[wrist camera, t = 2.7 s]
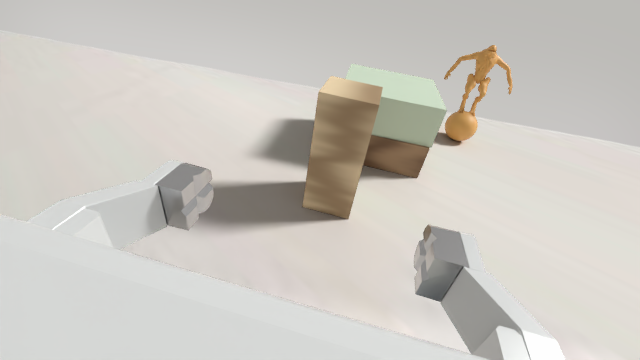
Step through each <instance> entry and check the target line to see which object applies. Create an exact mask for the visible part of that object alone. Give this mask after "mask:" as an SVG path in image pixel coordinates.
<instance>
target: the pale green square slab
mask: <svg viewBox="0 0 640 360" xmlns="http://www.w3.org/2000/svg"><path fill="white" fill-rule="evenodd" d="M345 79H348V80H352V81H357V82H361V83H366V84H371V85H375V86H380V87H383V89H382V94H381V99H380V105H379V108H378V112H377V116H376V119H375V123H374V127H373V130H372V134H371V135H375V136H380V137H384V138H389V139H394V140H398V141H403V142H408V143H412V144H417V145H422V146H426V147H432V145H433V142H434V140H435V138H436V135H437V133H438V131H439V128H440V126H441V123H442V121H443V119H444V116H445V114H446V111H447V109H446V107H445V105H444V103H443V100H442V98H441V96H440V94H439V91H438V89H437V87H436V85H435V83H434V81H433V80H431V79H426V78H421V77H416V76H411V75H406V74H401V73H396V72H391V71H385V70H380V69H376V68H370V67H365V66H360V65H355V64H351V66H350V68H349V71H348V73H347V76H346V78H345Z"/></svg>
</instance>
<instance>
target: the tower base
mask: <svg viewBox="0 0 640 360" xmlns="http://www.w3.org/2000/svg"><path fill="white" fill-rule="evenodd" d="M428 151H429V147H426V146H422V145H417V144H412V143H408V142H403V141H398V140H394V139H389V138H384V137H380V136H375V135H371V138H370V141H369V145H368V149H367V152H366V156H365V160H364V163H363V165H364V166H368V167H373V168H377V169H381V170H385V171H389V172H393V173H398V174H402V175H406V176H410V177H414V178H417V177H418V175H419V172H420V170H421V168H422V165H423V163H424V160H425V158H426V156H427V153H428Z"/></svg>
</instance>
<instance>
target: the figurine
mask: <svg viewBox="0 0 640 360" xmlns="http://www.w3.org/2000/svg"><path fill="white" fill-rule="evenodd" d="M496 50H497V48H496V46H495V45H492V46H490V47H489V48H487V49H485V50H483V51H481V52H476V53H473V54H470V55H465V56H462V57H460V58H459V59H458V60H457V61H456V63H455V64H454V65H453V66H452V67H451V68H450V70H449V71H448V72H447V74H446V75H445V78H444V79H446V77H447V78H448V76H449V75H450V72H452V71H453V70H454V69H455V68H456V67H457V65H458V64H459V63H460V62H461V61H464V60H471V59H476V72H475V75H473V74H470V75H469V76H468V79H467V84H466V86H465V92H466V93H465V94H464V95H463V101H462V103H461V106H460V109H459V111H458V112H455V113H453V114H452V115H451V116H449V118H448V119H447V121H446V123H445V131H446V133H447V135H448V136H449V137H450V138H452V139H453V140H457V141H463V140H467V139H469V138H470V137H472V136H473V135H474V134H475V132H476V130H477V120H476V118H475V113H474V112H475V108H476V104H477V102H480V101H481V99H482V98H483V97H484V96H485V94H486V91H487V86H488V84H489V82H490V78H489V77H488V78H486V79H485V77H486V75H487V73H488V72H489V71H490V69H492V67H493V66H494V64H498V65H499V66H501V67H502V68H503V69H505V70H507V80H508V83H509V86H510V87H509V88H508V89H509V94H510V93H511V90H512V78H511V69H510V67H509V66H508V65H507V64H506V63H505V62H504V61H503V60H502V59H501V58H500V57H499V56H498V55H497V54H496ZM476 83H477V84H478V83H480V85H479V87H478V91H479V92H480V96H479V97H476V98H475V101H474V103H473V105H472V108H471V111H470V112H466V111H464V106H465V102H466V99H467V98H468V94H469V93H470V91H471V90H472V89H473V88H474V87H475V85H476Z"/></svg>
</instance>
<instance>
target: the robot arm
mask: <svg viewBox="0 0 640 360" xmlns="http://www.w3.org/2000/svg"><path fill="white" fill-rule="evenodd" d="M211 180H212V174H211V171H210V170H209V169H206V168H202V167H199V166H195V165H192V164H188V163H183V162H180V161H176V160H169V161H168V162H166V163H165V164H163V165H162V166H161V167H159V168H158V169H157V170H155V171H154V172H153V173H151V174H150V175H148V176H147V177H146V178H144V179H143V180H142V181H138V180H136V181H132V182H128V183H124V184H120V185H117V186H113V187H109V188H105V189H101V190H97V191H93V192H90V193H86V194H82V195H78V196H74V197H70V198H66V199H63V200H60V201H58V202H57V203H55V204H53V205H52V206H50V207H49V208H47V209H45V210H44V211H42V212H40V213H39V214H37V215H36V216H34V217H32V218H31V219H29V220H28V221H26V222H25V221H22V220H19V219H15V218H12V217H9V216H5V215H2V214H0V360H565V358H564V356H563V354H562V351H561V349H560V347H559V344H558V342H557V340H556V339H555V338H554V337H553V336H552V335H551V334H550V333H549V332H548V331H547V330H546V329H545V328H544V327H543V326H542V325H541V324H540V323H539V322H538V321H537V320H536V319H535V318H534V317H533V316H532V315H531V314H530V313H529V312H528V311H527V310H526V309H525V308H524V307H523V306H522V305H521V304H520V303H519V302H518V301H517V300H516V299H515V298H514V297H513V296H512V295H511V294H510V293H509V292H508V291H507V290H506V289H505V288H504V286H503V285H502V284H501V283H500V282H499V281H498V280H497V279H496V278H495V277H494V276H493V275H492V274H490V273H486V270H485V266H484V263H483V260H482V257H481V253H480V250H479V247H478V244H477V240H476V237H475V236H474V235H472V234H467V233H463V232H457V231H453V230H448V229H444V228H440V227H436V226H432V225H427V227H426V228H425V230H424V232H423V235H424V239H423V240H421V241H419V243H418V245H417V248H416V251H415V255H414V268H415V269H416V271H417V274H416V276H415V294H417V295H420V296H423V297H427V298H430V299H433V300H436V301H440V302H441V305H442V306H443V308H444V310H445V311H446V313H447V315H448V316H449V318H450V320H451V321H452V323H453V324H454V326H455V328H456V329H457V331H458V333H459V334H460V336H461V338H462V339H463V341H464V343H465V344H466V346H467V348H468V349H469V351H470V353H471V354H469V353H465V352H462V351H459V350H455V349H452V348H449V347H445V346H442V345H439V344H435V343H432V342H429V341H425V340H422V339H418V338H415V337H412V336H408V335H405V334H402V333H398V332H395V331H392V330H388V329H385V328H382V327H378V326H375V325H372V324H368V323H365V322H361V321H358V320H355V319H351V318H348V317H345V316H341V315H338V314H335V313H331V312H328V311H324V310H321V309H318V308H314V307H311V306H308V305H304V304H301V303H298V302H294V301H291V300H288V299H284V298H281V297H277V296H274V295H271V294H267V293H264V292H261V291H257V290H254V289H251V288H247V287H244V286H241V285H237V284H234V283H230V282H227V281H224V280H220V279H217V278H214V277H210V276H207V275H204V274H200V273H197V272H193V271H190V270H187V269H183V268H180V267H177V266H173V265H170V264H167V263H163V262H160V261H157V260H153V259H150V258H146V257H143V256H140V255H136V254H133V253H130V252H126V251H123V250H120V249H122V248H124V247H126V246H128V245H130V244H132V243H134V242H136V241H138V240H140V239H142V238H145V237H147V236H149V235H151V234H153V233H155V232H157V231H159V230H161V229H163V228H165V227H167V225H169V226H173V227H177V228H181V229H185V230H189V229H190V228H191V227H192V226H193V225H194V224H195V223H196V222H197V220H198V219H199V214H200V213H202V212H205V211H206V210H207V209H208V208H209V207H210V205H211V202H212V200H213V195H214V192H213V187H212V186H211V185H210V183H209V182H210V181H211Z"/></svg>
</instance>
